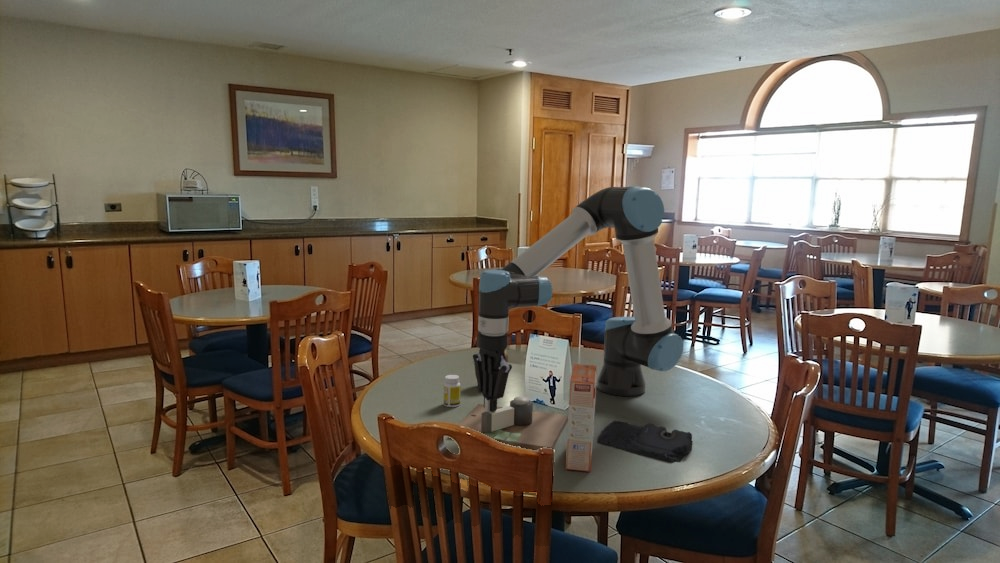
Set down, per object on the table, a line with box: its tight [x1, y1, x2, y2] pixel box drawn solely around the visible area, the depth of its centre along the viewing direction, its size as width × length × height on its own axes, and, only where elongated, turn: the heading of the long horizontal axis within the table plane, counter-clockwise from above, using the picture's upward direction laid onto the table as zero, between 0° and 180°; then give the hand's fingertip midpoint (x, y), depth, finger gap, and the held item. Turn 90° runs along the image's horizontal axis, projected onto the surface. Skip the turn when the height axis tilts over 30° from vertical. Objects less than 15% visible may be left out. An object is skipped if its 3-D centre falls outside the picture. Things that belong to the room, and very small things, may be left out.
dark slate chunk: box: [596, 419, 694, 464], centre depth 150 cm, size 15×22×5 cm
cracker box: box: [565, 363, 597, 473], centre depth 139 cm, size 14×6×21 cm, turn 170°
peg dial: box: [481, 396, 534, 433], centre depth 155 cm, size 15×6×6 cm, turn 129°
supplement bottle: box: [443, 374, 461, 408], centre depth 173 cm, size 5×5×8 cm
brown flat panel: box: [458, 403, 568, 450], centre depth 157 cm, size 26×23×1 cm
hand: (489, 421), depth 154 cm, fingers closed
